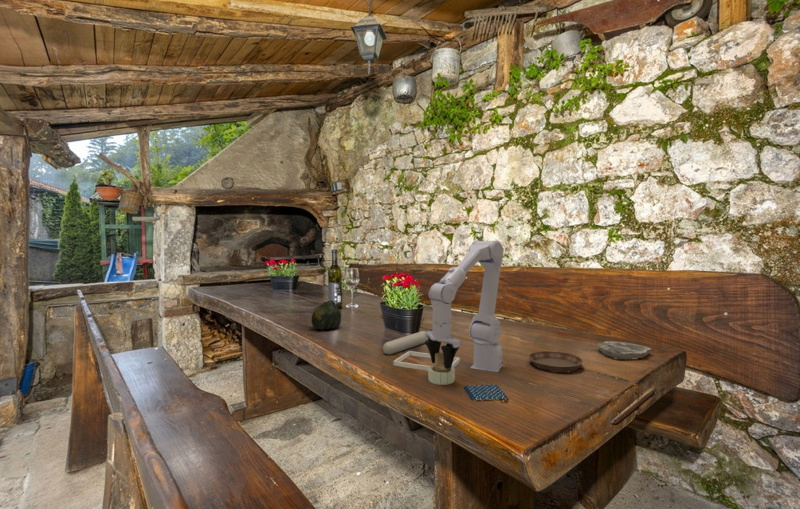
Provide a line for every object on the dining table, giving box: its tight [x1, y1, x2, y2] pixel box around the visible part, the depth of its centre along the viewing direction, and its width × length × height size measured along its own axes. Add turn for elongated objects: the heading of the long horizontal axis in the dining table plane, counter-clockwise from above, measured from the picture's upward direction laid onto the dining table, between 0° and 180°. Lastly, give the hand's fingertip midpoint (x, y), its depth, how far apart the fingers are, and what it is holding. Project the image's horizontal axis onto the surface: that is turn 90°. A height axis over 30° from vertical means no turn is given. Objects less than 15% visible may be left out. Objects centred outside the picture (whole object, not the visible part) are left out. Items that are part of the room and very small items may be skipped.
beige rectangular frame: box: [392, 350, 461, 372], centre depth 137 cm, size 20×14×2 cm
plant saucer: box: [528, 350, 584, 373], centre depth 137 cm, size 18×18×3 cm
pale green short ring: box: [427, 364, 456, 386], centre depth 121 cm, size 8×8×4 cm
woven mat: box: [463, 384, 510, 404], centre depth 110 cm, size 10×11×2 cm
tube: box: [382, 330, 429, 356], centre depth 159 cm, size 5×5×25 cm
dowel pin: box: [434, 352, 448, 372], centre depth 121 cm, size 4×4×8 cm
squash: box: [311, 300, 342, 331], centre depth 193 cm, size 14×15×15 cm
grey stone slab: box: [595, 340, 652, 360], centre depth 151 cm, size 20×17×3 cm
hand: (441, 365), depth 121 cm, fingers open, 6 cm apart
